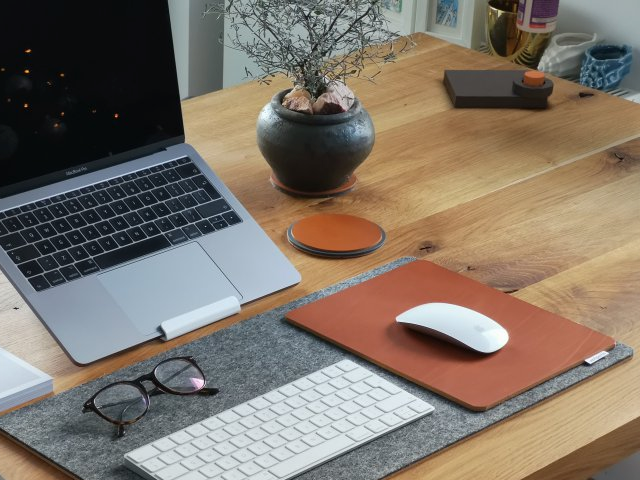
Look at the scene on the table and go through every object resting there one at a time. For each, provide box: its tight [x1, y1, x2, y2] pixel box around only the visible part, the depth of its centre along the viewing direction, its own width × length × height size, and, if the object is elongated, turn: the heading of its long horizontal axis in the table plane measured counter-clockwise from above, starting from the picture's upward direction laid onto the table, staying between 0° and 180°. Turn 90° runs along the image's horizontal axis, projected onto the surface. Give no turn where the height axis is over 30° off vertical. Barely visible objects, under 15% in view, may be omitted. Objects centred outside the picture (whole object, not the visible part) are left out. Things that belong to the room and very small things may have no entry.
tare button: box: [523, 70, 545, 86], centre depth 170 cm, size 3×3×2 cm
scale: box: [443, 69, 555, 109], centre depth 174 cm, size 15×13×4 cm
